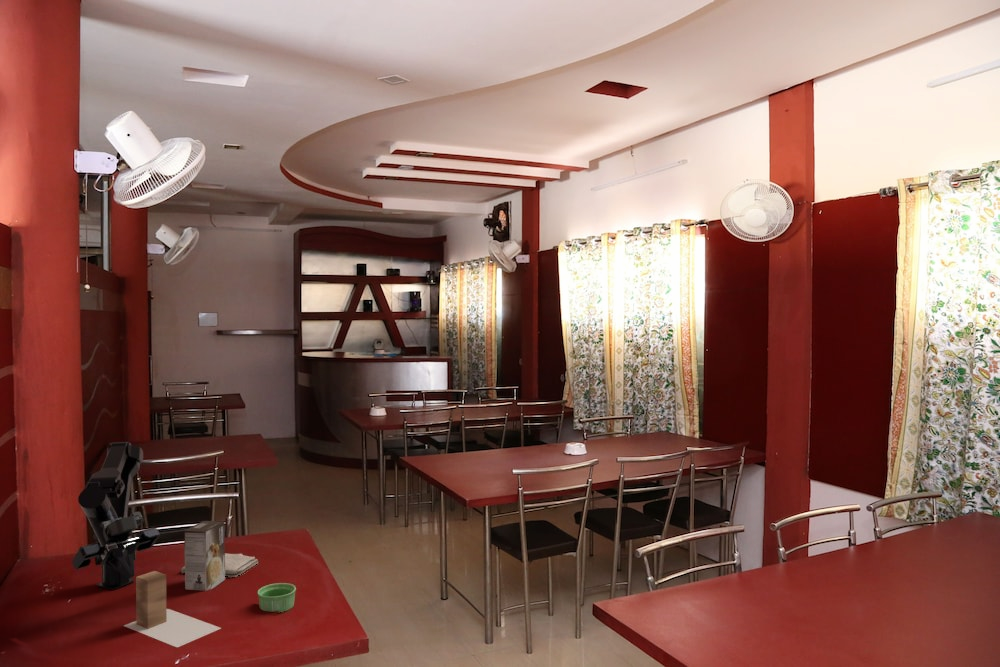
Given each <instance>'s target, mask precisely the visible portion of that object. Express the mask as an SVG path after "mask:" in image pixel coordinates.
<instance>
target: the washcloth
mask: <svg viewBox="0 0 1000 667" xmlns="http://www.w3.org/2000/svg"><path fill="white" fill-rule="evenodd" d="M256 564H257V565H259V559H257V558H256V557H255V556H248V555H245V554H244V555H243V553H226V552H225V576H228V577H227V578H232V577H237V576H238V575H240V576H242V575H243V574H242V573H244V572H245V571H246V570H248V569H250V568H251V567H253V566H255V565H256ZM257 565H256V566H257ZM256 566H255V567H256ZM253 568H254V567H253ZM250 570H251V569H250ZM183 573H185V565H184V566H183V567H181V569H180V574H183ZM241 574H242V575H241ZM244 574H245V573H244ZM238 577H239V576H238ZM238 577H237V578H238Z"/></svg>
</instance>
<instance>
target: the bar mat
mask: <svg viewBox="0 0 1000 667" xmlns="http://www.w3.org/2000/svg"><path fill="white" fill-rule="evenodd" d="M166 612H167V622H165V623H162V624H160V625H157V626H155V627H152V628H150V629H147V628H144V627H142V626H139V625H137V624H136V620H135V621H132V622H129V623H126V624H125V625H123V627H125V628H128V629H130V630H133V631H135V632H137V633H140V634H143V635H146V636H147V637H149V638H152V639H154V640H155V639H156V640H157V641H160V642H162V643H164V644H167V645H169V646H172V647H175V648H179V647H182V646H184V645H187V644H189V643H191V642H193V641H195V640H198V639H200V638H203V637H205V636H208V635H210V634H211V633H215V632H216V631H218V630H221V629H222V628H221V627H220V626H216V625H214V624H212V623H210V622H209V623H208V622H205V621H203V620H200V619H197V618H194V617H192V616H190V615H187V614H185V613H184V614H183V613H181V612H178V611H175V610H173V609H170V608H166Z"/></svg>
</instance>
